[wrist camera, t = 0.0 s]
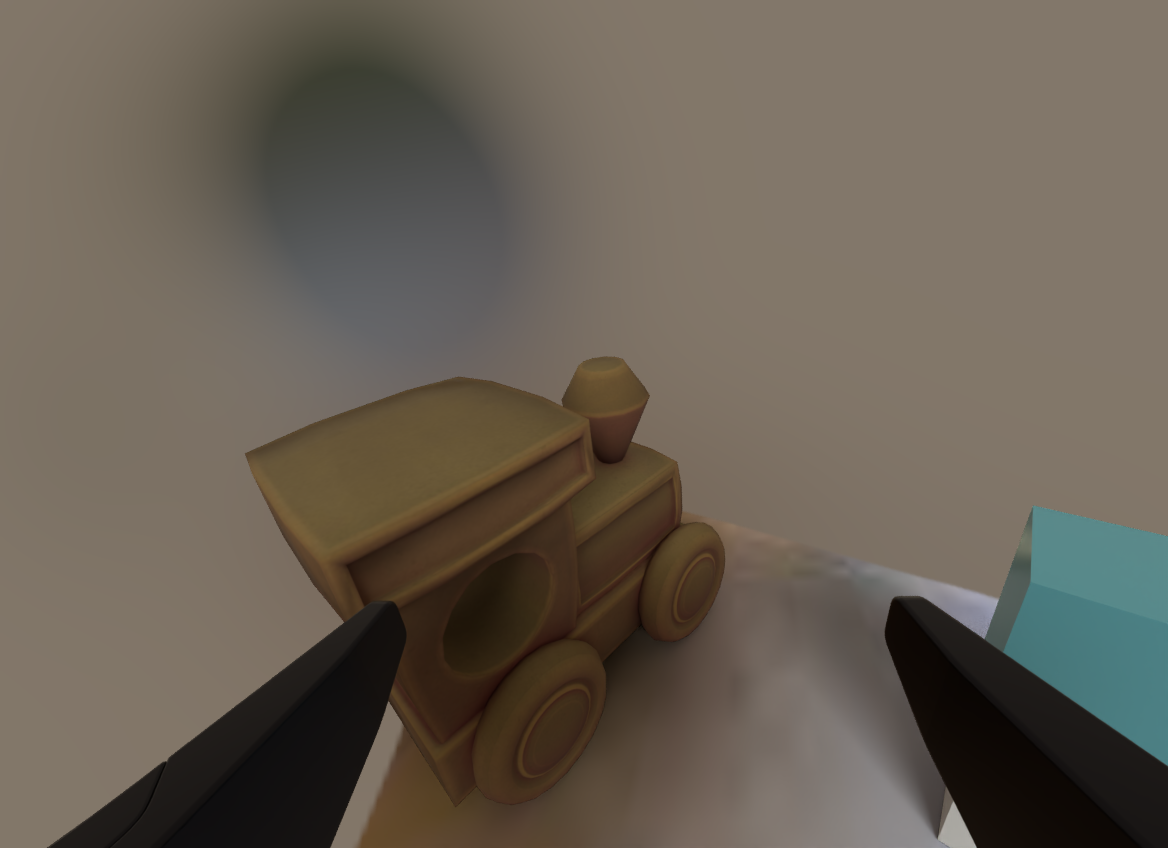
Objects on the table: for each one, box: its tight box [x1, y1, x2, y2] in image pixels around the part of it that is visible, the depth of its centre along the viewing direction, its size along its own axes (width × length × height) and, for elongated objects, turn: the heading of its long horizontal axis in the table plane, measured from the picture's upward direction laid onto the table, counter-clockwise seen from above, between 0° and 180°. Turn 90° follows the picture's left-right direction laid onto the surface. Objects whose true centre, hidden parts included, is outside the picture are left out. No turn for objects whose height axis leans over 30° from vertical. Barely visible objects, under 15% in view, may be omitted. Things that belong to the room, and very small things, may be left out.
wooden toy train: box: [245, 357, 725, 807], centre depth 24 cm, size 20×11×17 cm, turn 134°
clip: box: [938, 506, 1168, 848], centre depth 15 cm, size 4×6×13 cm, turn 49°
